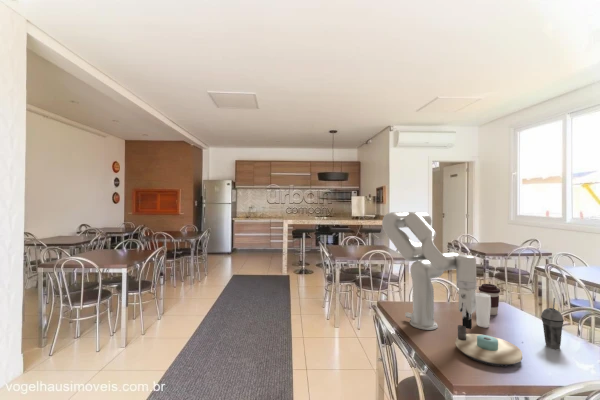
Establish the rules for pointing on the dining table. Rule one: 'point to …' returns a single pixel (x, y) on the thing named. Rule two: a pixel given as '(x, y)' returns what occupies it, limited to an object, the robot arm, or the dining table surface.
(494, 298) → the coffee cup
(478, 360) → the base
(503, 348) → the turntable plate
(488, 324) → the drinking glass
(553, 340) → the beverage cup
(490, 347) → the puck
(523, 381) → the dining table surface
